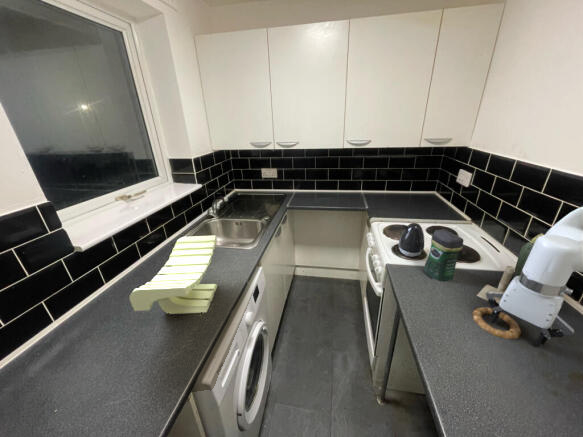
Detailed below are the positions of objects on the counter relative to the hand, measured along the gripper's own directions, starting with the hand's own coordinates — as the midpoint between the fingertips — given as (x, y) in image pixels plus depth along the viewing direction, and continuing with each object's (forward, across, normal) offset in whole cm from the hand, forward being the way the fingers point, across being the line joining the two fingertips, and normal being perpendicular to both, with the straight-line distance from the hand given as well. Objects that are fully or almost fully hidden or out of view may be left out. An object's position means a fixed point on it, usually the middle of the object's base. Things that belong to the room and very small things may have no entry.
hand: (514, 331), depth 64 cm
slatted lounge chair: (+2, +72, +71) cm, 101 cm away
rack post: (+2, +7, -13) cm, 15 cm away
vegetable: (+2, +6, -30) cm, 31 cm away
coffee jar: (+2, +25, -11) cm, 28 cm away
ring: (0, +4, 0) cm, 4 cm away
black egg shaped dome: (+2, +40, -17) cm, 44 cm away
